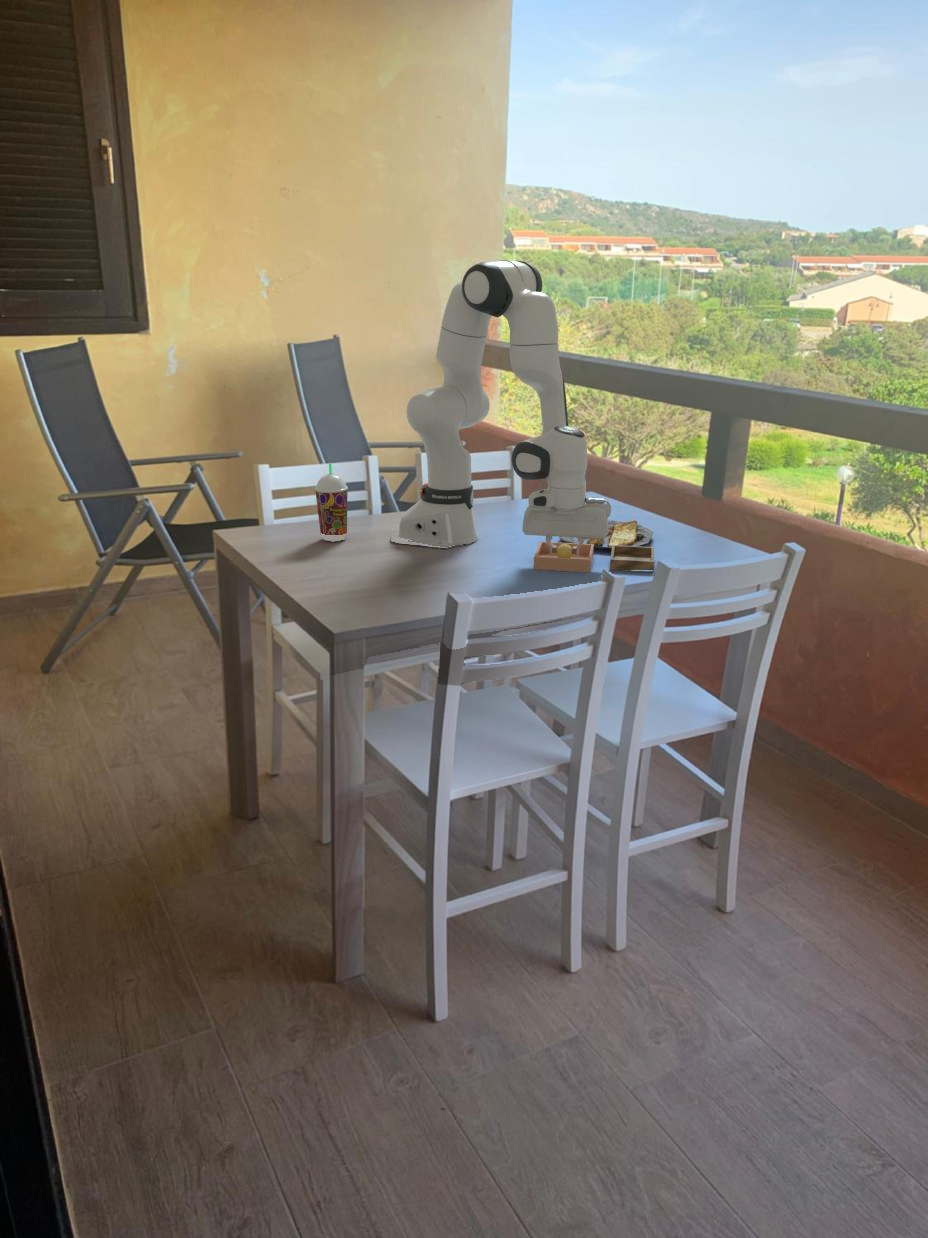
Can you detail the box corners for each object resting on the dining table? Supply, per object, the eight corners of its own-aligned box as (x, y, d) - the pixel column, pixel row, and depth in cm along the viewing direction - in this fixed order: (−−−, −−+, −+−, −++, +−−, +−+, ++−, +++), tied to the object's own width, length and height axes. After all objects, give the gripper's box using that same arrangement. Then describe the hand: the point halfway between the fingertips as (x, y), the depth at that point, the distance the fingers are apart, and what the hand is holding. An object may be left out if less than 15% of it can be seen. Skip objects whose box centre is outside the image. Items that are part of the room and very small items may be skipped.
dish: (533, 569, 214) (533, 556, 213) (539, 553, 226) (540, 541, 225) (590, 572, 212) (590, 559, 211) (593, 555, 224) (593, 544, 223)
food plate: (571, 523, 252) (572, 511, 251) (656, 531, 246) (657, 518, 244) (551, 551, 230) (552, 537, 229) (644, 560, 224) (645, 546, 222)
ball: (555, 562, 217) (555, 546, 216) (556, 557, 221) (557, 541, 220) (571, 563, 217) (572, 547, 215) (573, 558, 220) (573, 542, 219)
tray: (609, 569, 213) (610, 559, 212) (611, 555, 224) (612, 545, 223) (653, 572, 212) (654, 561, 211) (653, 557, 223) (653, 547, 222)
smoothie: (336, 545, 233) (332, 467, 226) (311, 541, 237) (306, 464, 230) (356, 537, 240) (353, 462, 232) (332, 533, 244) (327, 458, 237)
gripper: (612, 495, 214) (608, 552, 219) (525, 492, 218) (524, 548, 223) (610, 502, 209) (607, 560, 214) (522, 498, 212) (520, 555, 217)
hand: (564, 554), depth 218 cm, fingers closed on ball, 4 cm apart
